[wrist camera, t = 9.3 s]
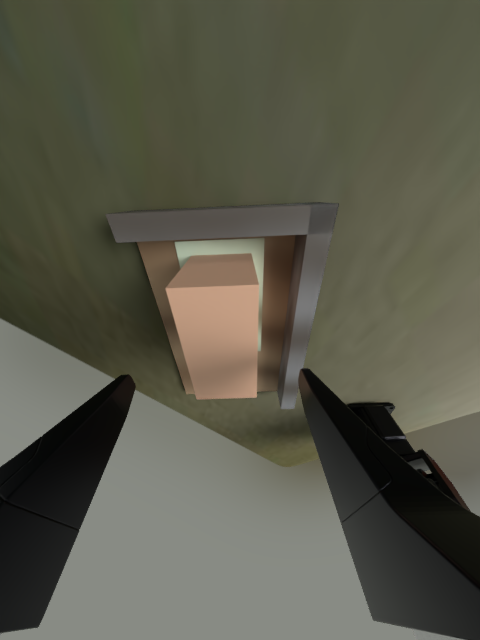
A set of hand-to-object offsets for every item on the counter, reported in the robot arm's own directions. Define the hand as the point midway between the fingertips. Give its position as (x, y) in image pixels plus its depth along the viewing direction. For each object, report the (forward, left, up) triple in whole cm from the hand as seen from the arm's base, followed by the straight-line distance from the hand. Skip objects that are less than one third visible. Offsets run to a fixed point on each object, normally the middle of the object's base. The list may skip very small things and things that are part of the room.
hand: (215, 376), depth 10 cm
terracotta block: (0, 0, -8) cm, 8 cm away
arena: (-3, -1, -8) cm, 9 cm away
